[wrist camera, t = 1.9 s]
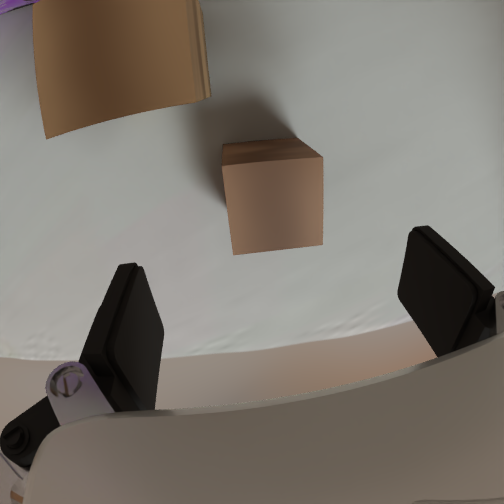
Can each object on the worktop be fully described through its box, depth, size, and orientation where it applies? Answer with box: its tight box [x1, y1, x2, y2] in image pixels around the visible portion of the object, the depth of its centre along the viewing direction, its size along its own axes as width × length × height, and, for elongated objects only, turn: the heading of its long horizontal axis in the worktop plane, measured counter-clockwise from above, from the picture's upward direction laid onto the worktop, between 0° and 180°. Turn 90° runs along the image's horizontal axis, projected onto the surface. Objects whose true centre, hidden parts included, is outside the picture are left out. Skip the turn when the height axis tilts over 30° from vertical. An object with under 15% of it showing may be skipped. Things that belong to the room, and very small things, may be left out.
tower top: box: [33, 0, 206, 139], centre depth 10 cm, size 6×6×5 cm
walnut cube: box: [222, 138, 323, 255], centre depth 18 cm, size 5×5×6 cm
